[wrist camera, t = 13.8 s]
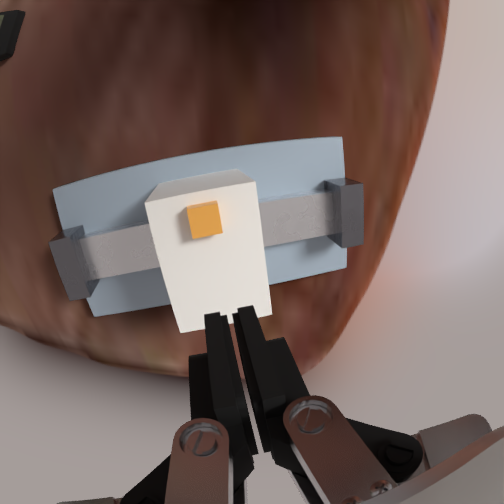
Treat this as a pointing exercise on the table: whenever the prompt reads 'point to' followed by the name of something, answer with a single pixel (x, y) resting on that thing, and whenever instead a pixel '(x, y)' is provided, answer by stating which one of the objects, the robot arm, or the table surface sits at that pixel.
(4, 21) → the green creature figurine
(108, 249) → the rail
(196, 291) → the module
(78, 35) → the table surface
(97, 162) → the table surface
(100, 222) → the board
